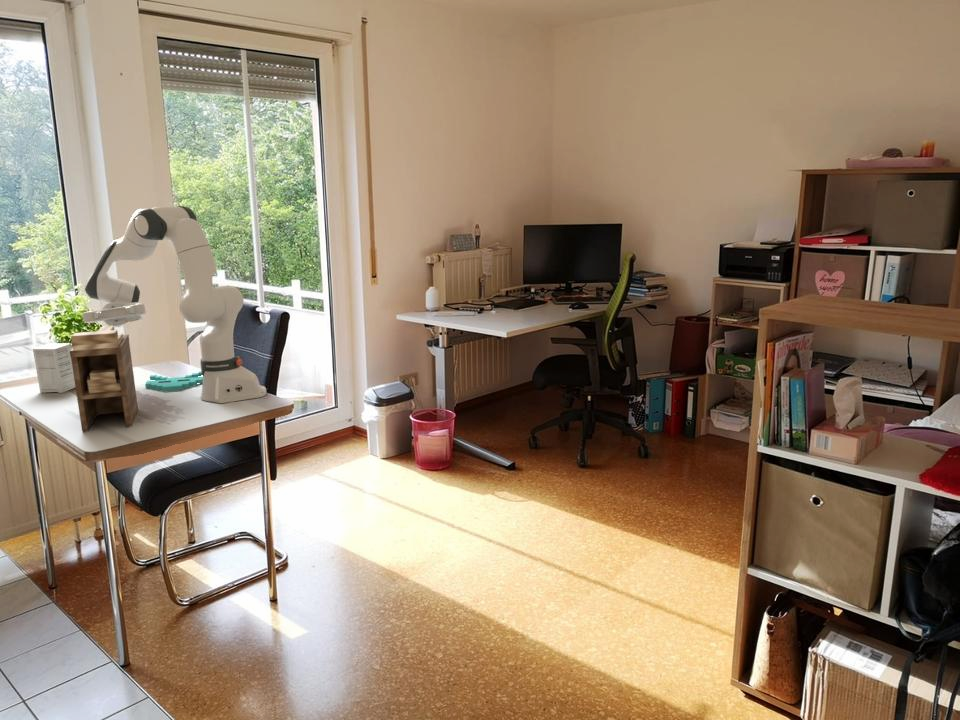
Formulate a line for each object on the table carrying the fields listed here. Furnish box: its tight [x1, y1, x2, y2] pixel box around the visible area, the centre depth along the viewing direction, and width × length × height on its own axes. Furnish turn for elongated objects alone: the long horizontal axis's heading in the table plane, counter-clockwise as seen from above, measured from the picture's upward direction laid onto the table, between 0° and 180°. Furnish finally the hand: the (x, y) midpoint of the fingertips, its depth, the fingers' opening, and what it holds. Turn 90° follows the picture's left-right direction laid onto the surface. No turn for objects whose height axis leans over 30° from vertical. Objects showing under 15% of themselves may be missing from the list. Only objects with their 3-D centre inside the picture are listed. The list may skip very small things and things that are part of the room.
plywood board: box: [70, 325, 124, 351], centre depth 238 cm, size 12×28×4 cm, turn 18°
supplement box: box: [32, 342, 76, 394], centre depth 276 cm, size 10×9×17 cm
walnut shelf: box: [70, 334, 139, 433], centre depth 238 cm, size 14×20×26 cm
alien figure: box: [144, 371, 203, 393], centre depth 283 cm, size 20×2×20 cm
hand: (114, 312), depth 258 cm, fingers open, 8 cm apart
